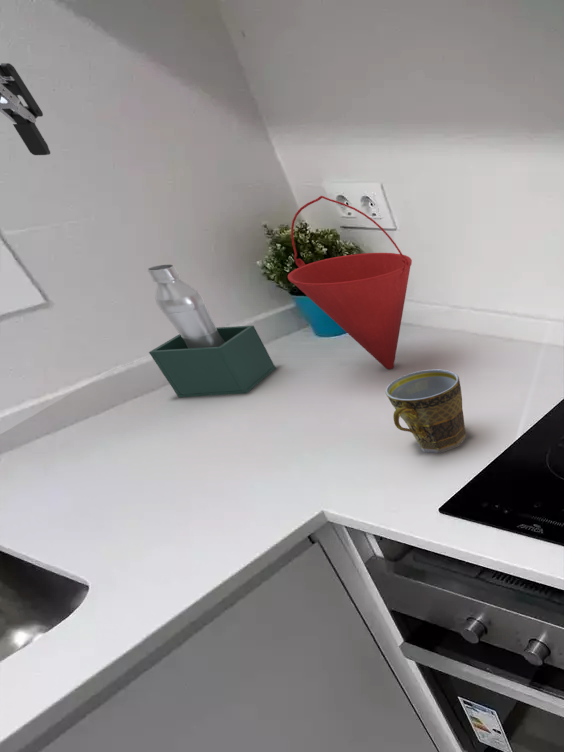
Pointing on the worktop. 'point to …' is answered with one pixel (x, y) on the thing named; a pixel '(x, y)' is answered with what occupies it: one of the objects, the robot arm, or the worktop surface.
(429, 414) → the ceramic cup
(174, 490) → the worktop surface
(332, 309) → the fire bucket
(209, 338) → the plastic bottle
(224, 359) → the bin
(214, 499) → the worktop surface
